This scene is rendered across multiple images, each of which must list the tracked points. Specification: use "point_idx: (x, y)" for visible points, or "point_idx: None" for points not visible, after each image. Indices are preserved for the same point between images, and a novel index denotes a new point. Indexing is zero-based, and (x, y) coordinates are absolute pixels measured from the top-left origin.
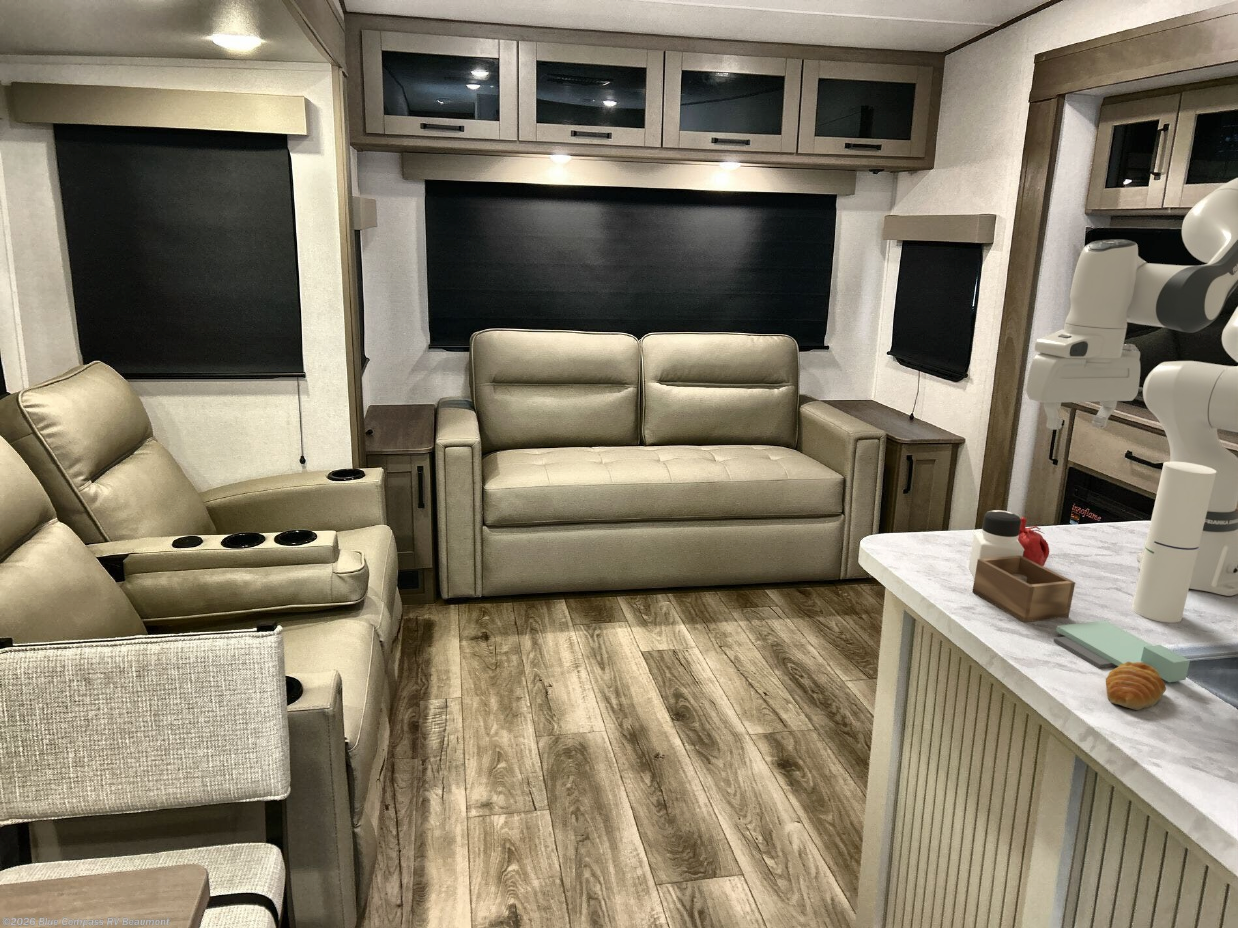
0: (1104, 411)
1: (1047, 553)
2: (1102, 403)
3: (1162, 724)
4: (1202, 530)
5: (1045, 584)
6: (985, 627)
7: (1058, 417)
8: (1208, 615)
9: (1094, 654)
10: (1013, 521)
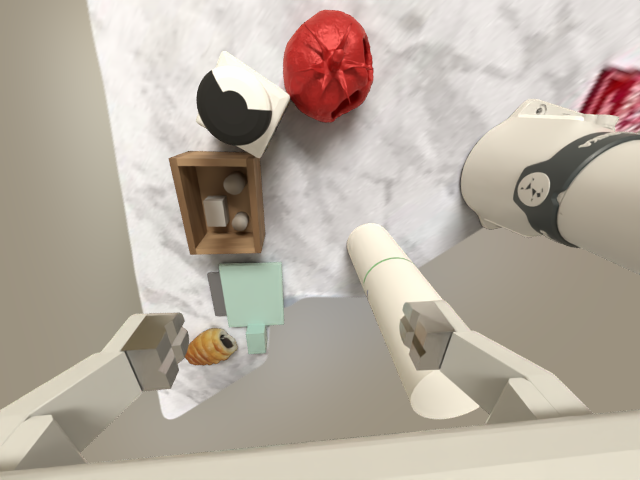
0: (473, 377)
1: (355, 106)
2: (508, 407)
3: (205, 368)
4: None
5: (216, 251)
6: (151, 236)
7: (131, 400)
8: (413, 256)
9: (224, 302)
10: (234, 143)
